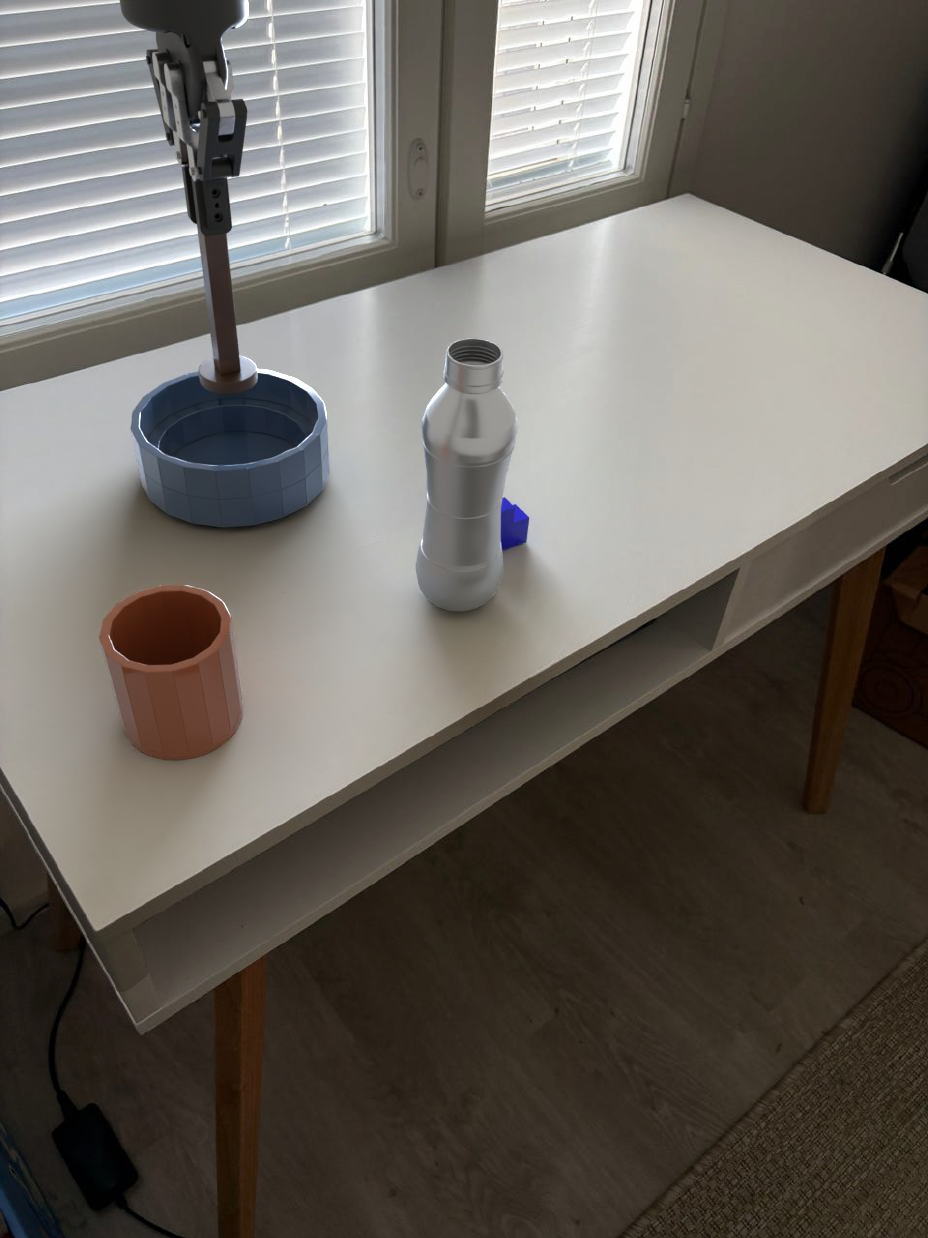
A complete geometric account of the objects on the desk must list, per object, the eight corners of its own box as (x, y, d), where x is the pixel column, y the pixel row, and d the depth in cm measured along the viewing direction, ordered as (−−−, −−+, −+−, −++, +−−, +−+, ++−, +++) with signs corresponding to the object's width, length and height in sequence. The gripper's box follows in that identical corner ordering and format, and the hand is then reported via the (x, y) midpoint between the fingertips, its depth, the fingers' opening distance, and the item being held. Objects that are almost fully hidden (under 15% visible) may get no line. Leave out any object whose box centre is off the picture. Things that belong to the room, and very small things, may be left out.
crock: (141, 776, 62) (118, 688, 57) (110, 694, 67) (86, 605, 62) (259, 735, 65) (248, 647, 60) (221, 659, 70) (207, 571, 64)
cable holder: (526, 542, 81) (531, 502, 79) (489, 554, 80) (493, 514, 77) (474, 489, 86) (477, 450, 83) (439, 500, 85) (441, 460, 82)
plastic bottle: (400, 607, 75) (404, 363, 61) (436, 555, 79) (448, 318, 66) (480, 633, 73) (503, 389, 60) (513, 578, 78) (541, 340, 64)
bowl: (174, 553, 78) (163, 489, 74) (121, 450, 87) (109, 388, 83) (357, 503, 84) (356, 442, 80) (289, 412, 93) (285, 353, 89)
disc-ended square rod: (210, 399, 76) (179, 165, 64) (192, 372, 79) (160, 142, 67) (266, 387, 78) (246, 157, 66) (246, 361, 80) (223, 135, 69)
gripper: (81, -93, 61) (129, 198, 73) (144, -46, 52) (187, 275, 64) (202, -95, 64) (230, 185, 76) (280, -51, 55) (298, 257, 67)
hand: (210, 225), depth 70 cm, fingers closed on disc-ended square rod
